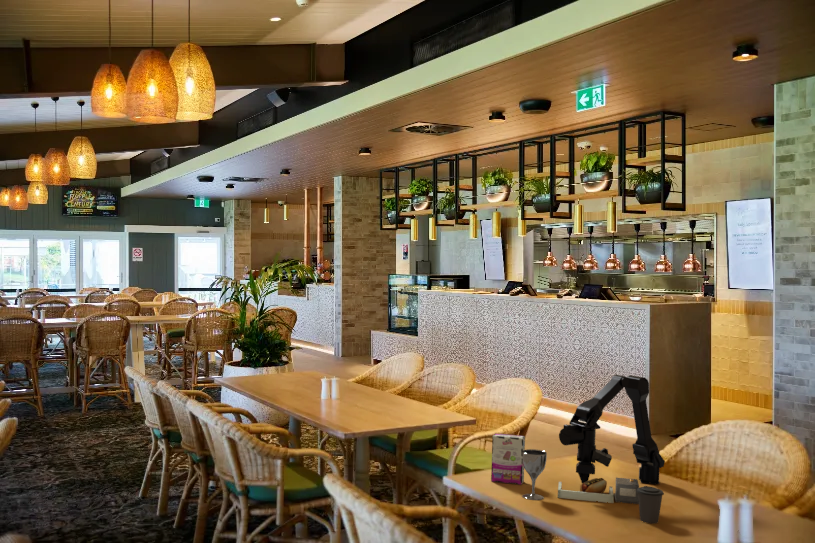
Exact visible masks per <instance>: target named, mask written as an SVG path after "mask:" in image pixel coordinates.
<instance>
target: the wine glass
mask: <svg viewBox="0 0 815 543" xmlns="http://www.w3.org/2000/svg"><path fill="white" fill-rule="evenodd" d="M547 455H548V453H547V451H545V450H541V449H534V448H529V449H525V450H523V466H524V471H525V472H526V473H527V474H528V476H529V477H530V480H531V492H530V493H525V494H522V496H521V497H522V498H524V499H525V500H530V501H541V500H544V498H545V497H544V496H543V495H541V494H538V493H536V492H535V486H536V480H538V477H539V476H540V475H541V473H543V472H544V470H545V467H546V463H547Z"/></svg>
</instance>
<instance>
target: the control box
mask: <svg viewBox="0 0 815 543" xmlns="http://www.w3.org/2000/svg"><path fill="white" fill-rule="evenodd" d="M638 480H639V479H637V478H636V479H635V478H625V477H624V478H623V477H615V491H614V492H613V494H614V502H615V503H621V502H622V504H623V503H624V504H632V503H633V505H639V499H638V492H637V489H638V488H639V487H640V483H639V481H638Z"/></svg>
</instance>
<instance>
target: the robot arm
mask: <svg viewBox="0 0 815 543" xmlns="http://www.w3.org/2000/svg"><path fill="white" fill-rule="evenodd" d="M623 389H624V391H625V394H626V396H628V398H629V399H630V401H631V404H632V411H633V418H634V425H635V431H636V440H635V443H632V450H633V452H632V454H633V455H634V457H635V459H636V463H637V464H640V466H639V467H638V480H640V483H642V484H651V485H660V484H661V483H660V469H662V468H664V466H665V463H666V461H665V459H664V457H663V456H662V455H661V454H660V451H659V447H658V445H657V443H656V442H655V440H654V439H653V436H652V432H651V426H650V425H651V424H650V419H649V411H648V405H647V398H648V396H649V394H650V382H649V379H647V378H646V377H643V376H638V375H637V376H636V375H631V374H630V375H627V376H625V375H619V374H615V375H613V376H612V377H611V379H610V380H609V381H608V382H607V384H606V385H604V386H603V387H602V388H601V390H600V391H598V392H597V394H595V395H594V397H592V398H590V399H588V400H585V401H583V402H582V403H580V404H579V405H577V407H576V408H575V412H574V413H573V415H572V417H571V418H570V421H569V424H568V423H567V424H563V427H562V428H561V429H560V431H559V434H558V438H559V441H560V443H561V444H562V445H563V446H571V445H572V446H573V445H577V453H576V461H577V463H576V464H575V473H577V474H578V476H579V479H580V482H581V484H582V483H584V482H586V481H589V480H590V475H595V474H596V465H595V464H596V462H597V463H599V464H601V465H603V466H605V467H607V468H608V467H609V466H610V463H611V461H612V459H613V457H612V455H611V454H610V453H609V449H607V448H606V447H604V448H602V449H597V445H596V433H597V432H596V431H597V430H599V429H601V426H600V424H598V423H597V422H599V420H600V418H601V417H602V416H603V412H604V409H605V407H606V406H608V404H609V403H610V402H611V401H612V400H613V399H614V398H616V396H617V395H618V394H619V393H620V392H621V391H623Z"/></svg>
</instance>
